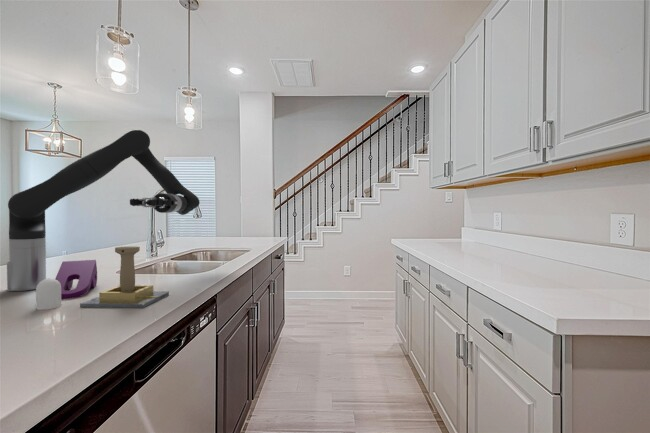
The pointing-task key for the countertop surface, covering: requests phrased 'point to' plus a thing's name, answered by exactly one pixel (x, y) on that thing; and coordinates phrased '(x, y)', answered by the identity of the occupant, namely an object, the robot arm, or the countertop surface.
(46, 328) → the countertop surface
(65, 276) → the mounting bracket
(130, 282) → the handle
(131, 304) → the plate
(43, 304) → the capsule
